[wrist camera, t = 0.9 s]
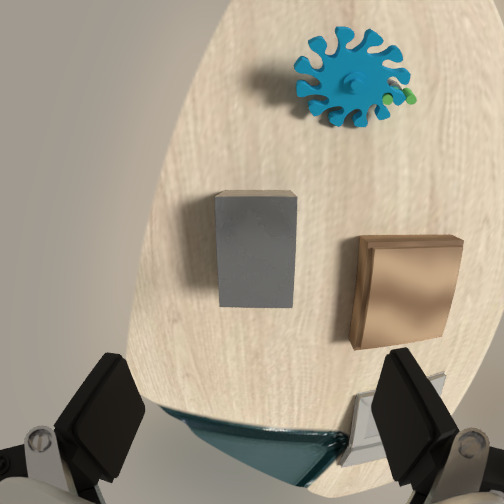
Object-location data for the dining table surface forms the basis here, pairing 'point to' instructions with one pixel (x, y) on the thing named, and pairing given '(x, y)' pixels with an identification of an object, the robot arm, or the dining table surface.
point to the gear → (354, 78)
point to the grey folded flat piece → (371, 428)
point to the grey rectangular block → (256, 247)
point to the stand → (403, 288)
